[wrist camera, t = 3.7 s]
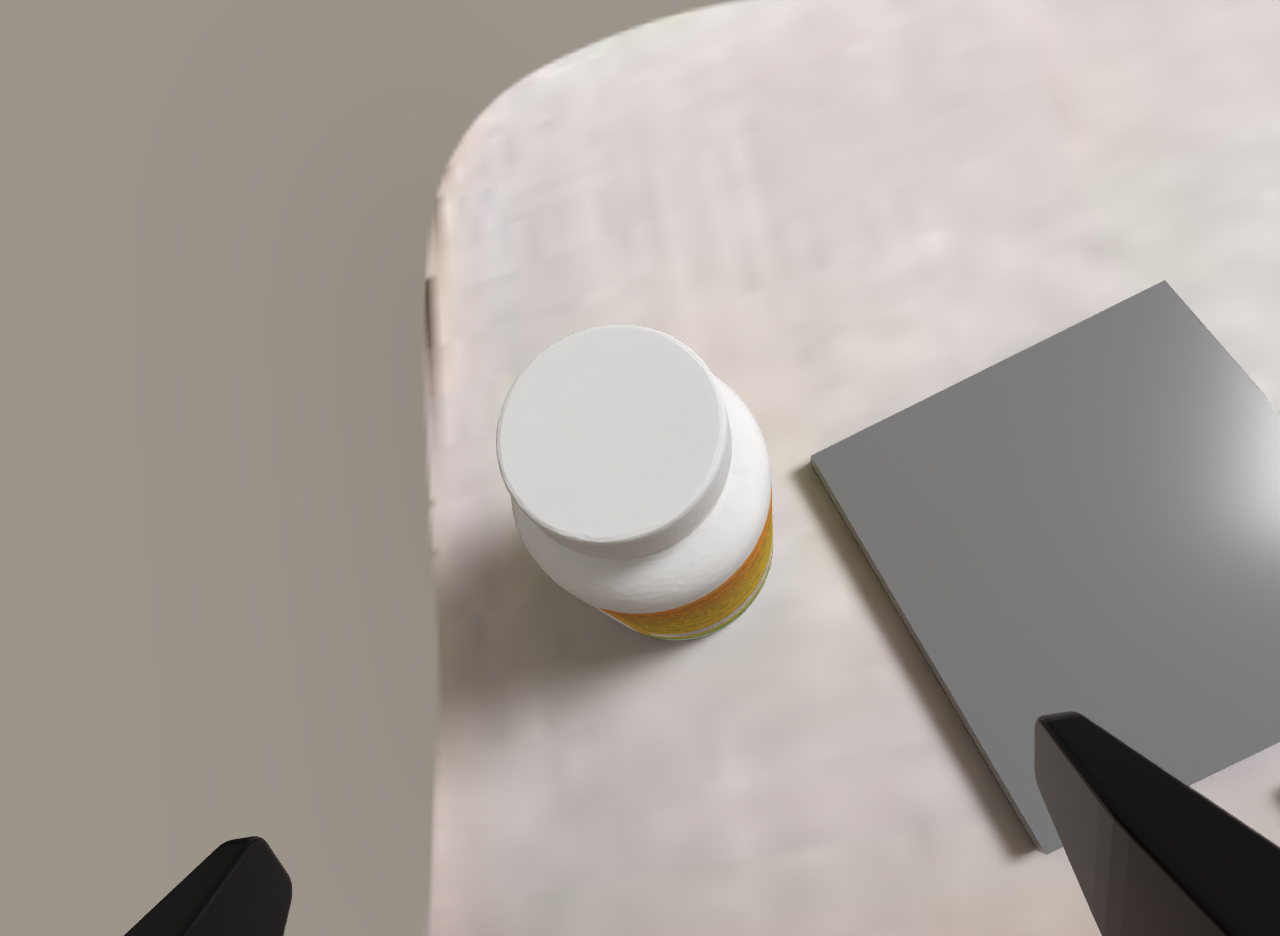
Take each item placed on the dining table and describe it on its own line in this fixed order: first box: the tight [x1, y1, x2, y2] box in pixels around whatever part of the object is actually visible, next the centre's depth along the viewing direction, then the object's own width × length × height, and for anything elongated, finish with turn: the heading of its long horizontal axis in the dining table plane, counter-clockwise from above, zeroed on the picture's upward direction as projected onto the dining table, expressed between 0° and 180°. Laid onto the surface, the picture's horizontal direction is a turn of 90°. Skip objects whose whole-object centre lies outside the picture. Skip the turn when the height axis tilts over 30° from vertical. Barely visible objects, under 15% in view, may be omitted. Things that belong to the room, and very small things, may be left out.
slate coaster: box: [810, 280, 1280, 854], centre depth 19 cm, size 11×11×1 cm
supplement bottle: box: [496, 324, 773, 640], centre depth 17 cm, size 5×5×10 cm
